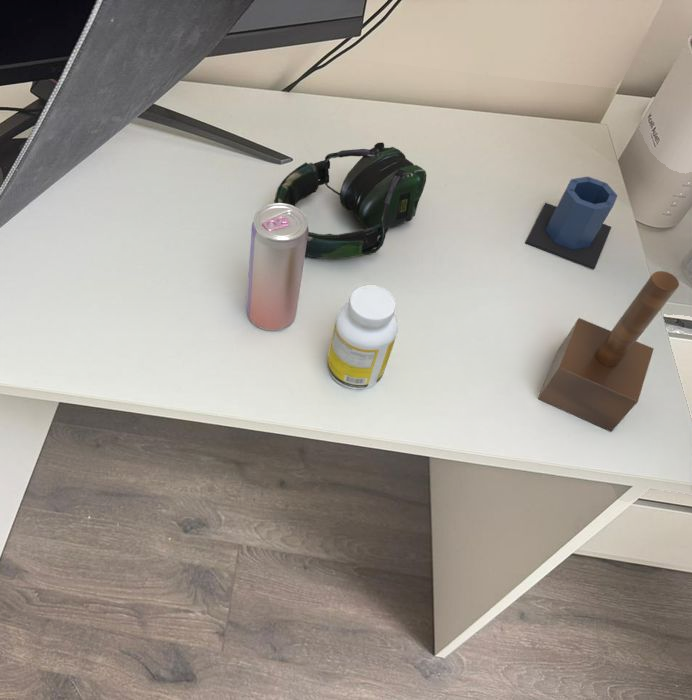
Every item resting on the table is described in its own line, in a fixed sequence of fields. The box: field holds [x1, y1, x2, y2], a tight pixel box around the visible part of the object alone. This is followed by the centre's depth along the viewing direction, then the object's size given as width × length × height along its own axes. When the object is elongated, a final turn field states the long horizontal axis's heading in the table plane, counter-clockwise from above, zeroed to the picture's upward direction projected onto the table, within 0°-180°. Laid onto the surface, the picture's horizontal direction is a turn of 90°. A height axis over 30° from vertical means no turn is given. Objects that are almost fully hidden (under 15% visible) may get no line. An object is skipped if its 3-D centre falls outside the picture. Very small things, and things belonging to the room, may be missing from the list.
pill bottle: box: [326, 284, 399, 390], centre depth 76 cm, size 6×6×12 cm
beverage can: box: [246, 202, 310, 332], centre depth 79 cm, size 6×6×15 cm
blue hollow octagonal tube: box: [546, 176, 618, 250], centre depth 91 cm, size 6×6×7 cm
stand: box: [537, 270, 680, 432], centre depth 72 cm, size 8×8×18 cm
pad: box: [524, 202, 612, 270], centre depth 94 cm, size 9×9×1 cm
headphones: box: [273, 142, 427, 260], centre depth 92 cm, size 13×13×20 cm
